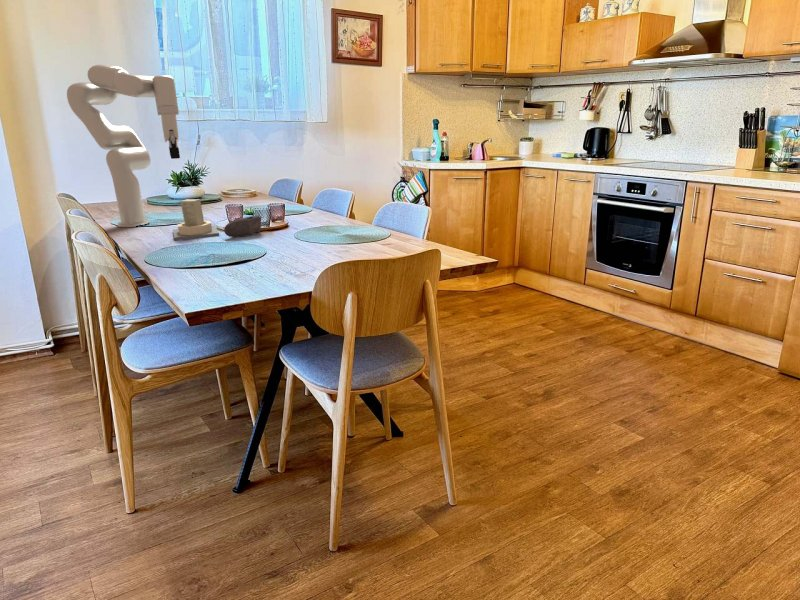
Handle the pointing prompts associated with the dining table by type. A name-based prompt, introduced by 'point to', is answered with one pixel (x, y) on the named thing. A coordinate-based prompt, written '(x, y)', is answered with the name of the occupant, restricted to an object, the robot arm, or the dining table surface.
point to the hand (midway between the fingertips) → (175, 157)
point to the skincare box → (192, 212)
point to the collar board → (195, 231)
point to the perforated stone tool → (243, 227)
